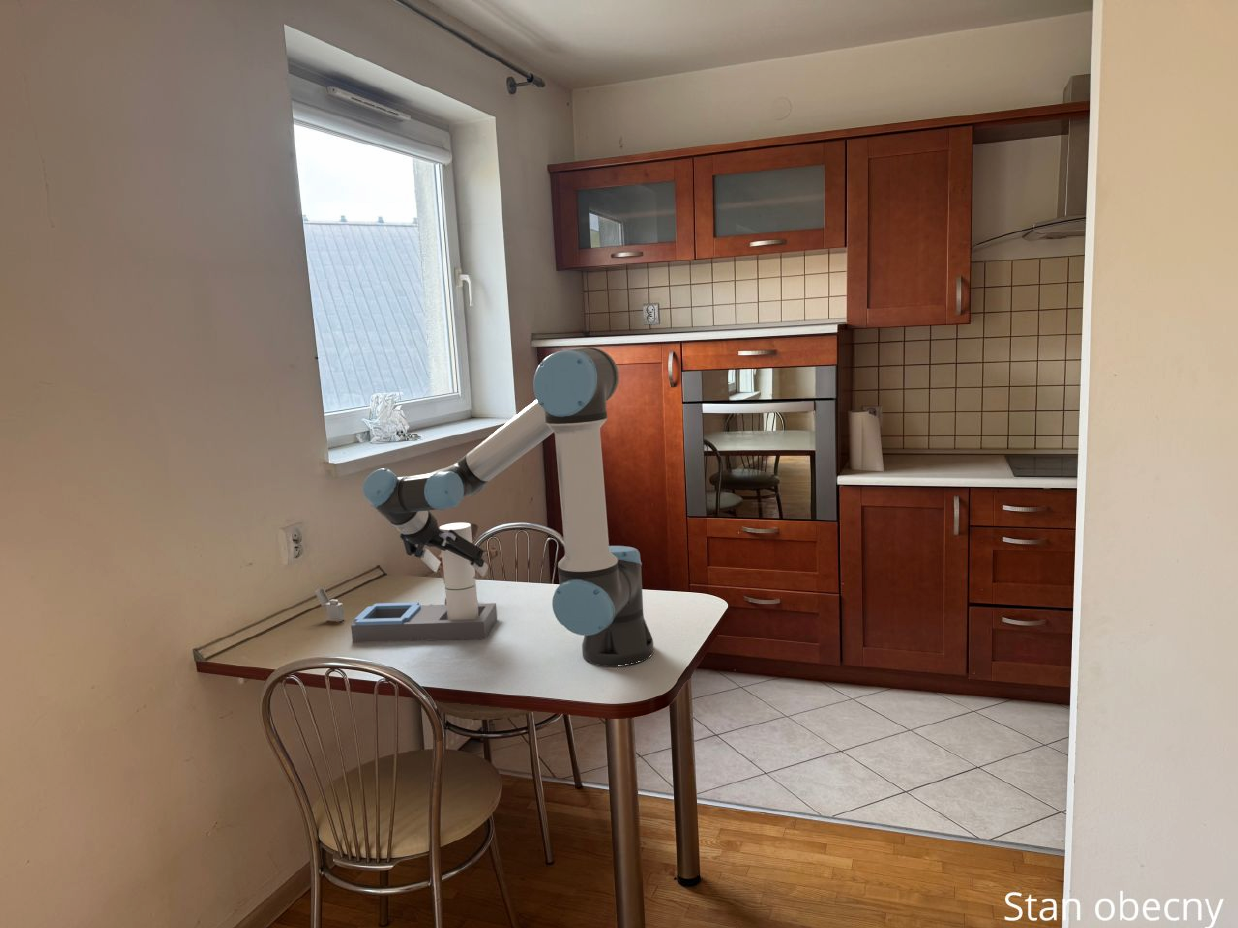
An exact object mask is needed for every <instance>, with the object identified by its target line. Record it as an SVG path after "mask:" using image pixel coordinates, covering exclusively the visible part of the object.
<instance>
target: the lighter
mask: <svg viewBox="0 0 1238 928" xmlns="http://www.w3.org/2000/svg"><path fill="white" fill-rule="evenodd" d="M314 592H315V594H316V597H317V598H318V601H319V603H320V605H321V606H325V608H326V609H325V610H326V617H327V621H328V620H335V621H342V620H344V621H345V614H344V604H343V603H342V602H339V600H338V599H335V598H332V599H329V597H328V594H327V592H326V591H325V588H324V587H321V588H318V589H317V590H315V591H314ZM342 622H343V621H342Z"/></svg>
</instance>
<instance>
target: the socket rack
mask: <svg viewBox="0 0 1238 928" xmlns="http://www.w3.org/2000/svg"><path fill="white" fill-rule="evenodd" d="M478 615H479V617H478V618H477V619H463V620H448V616H447V605H445V604H430V605H429V604H425V605H424V604H422V605H421V604H420V602H419V601H418V602H415V601H413V602H387V603H386V602H385V603H384V602H383V603H381V602H380V603H374V604H373V605H372V606H371V605H370V606H367V607H366V608H364V610H362V612H360V613H359V614H358V615H357V616H356V617H354V619H353V623H352V624H351V625H350V626H351V638H352V642H353V643H360V642H361V643H364V642H366V643H368V642H374V643H375V642H407V641H408V642H409V641H414V642H415V641H445V640H446V641H449V640H482V639H483V640H484V639H486V637H487V636H488V635H489V633H490V631H491V629H492V628H494V627H493V626H494V625H495V624H496V622H497V620H498V612H497V603H494V602H490V603H478Z"/></svg>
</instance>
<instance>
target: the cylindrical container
mask: <svg viewBox="0 0 1238 928" xmlns="http://www.w3.org/2000/svg"><path fill="white" fill-rule="evenodd" d="M469 523H470V522H451V523H446V524H443V525H441V526H439V529H440V530H442V531H443V532H444V533H448V532H449V530H453V531H455V532H456V533H457V534H458V535H459V536H461V537H462V538H464V539H466V540H467V541H469V542H471V543H472V544H473V541H472V533H471V524H469ZM445 543H446V540H445V539H444V542H443V544H442V546H444V545H445ZM441 553H442V561H443V572H444V580H443V584H444V583H445V584H444V593H445V598H446V605H447V616H448V620H463V619H477V618H478V617H479V615H478V604H479V603H478V596H477V594H478V593H477V583H476V570H475V569H474V568H473V567H472V566H471V565H470V563H469V560H467V559H465V558H463V557H461V556H459V555H457V554H454V553H452V552H450V551H448V550H446V551H443V550H441Z"/></svg>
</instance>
